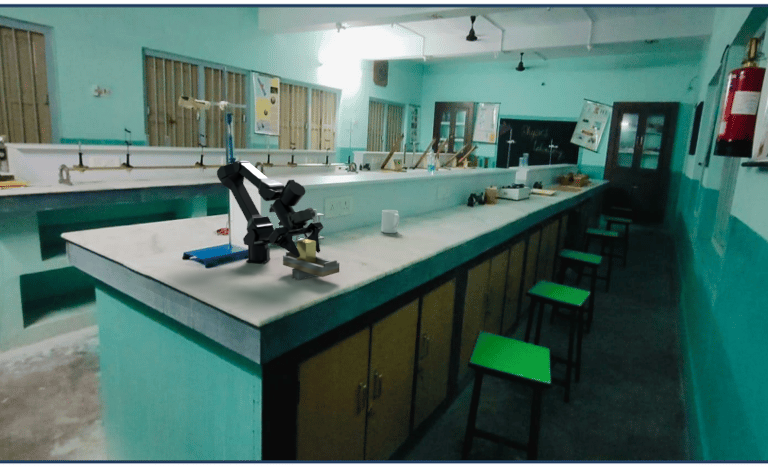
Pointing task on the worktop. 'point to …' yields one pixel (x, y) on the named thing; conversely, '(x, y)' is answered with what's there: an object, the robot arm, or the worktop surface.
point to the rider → (307, 250)
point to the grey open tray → (310, 267)
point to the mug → (389, 221)
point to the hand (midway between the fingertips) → (309, 254)
